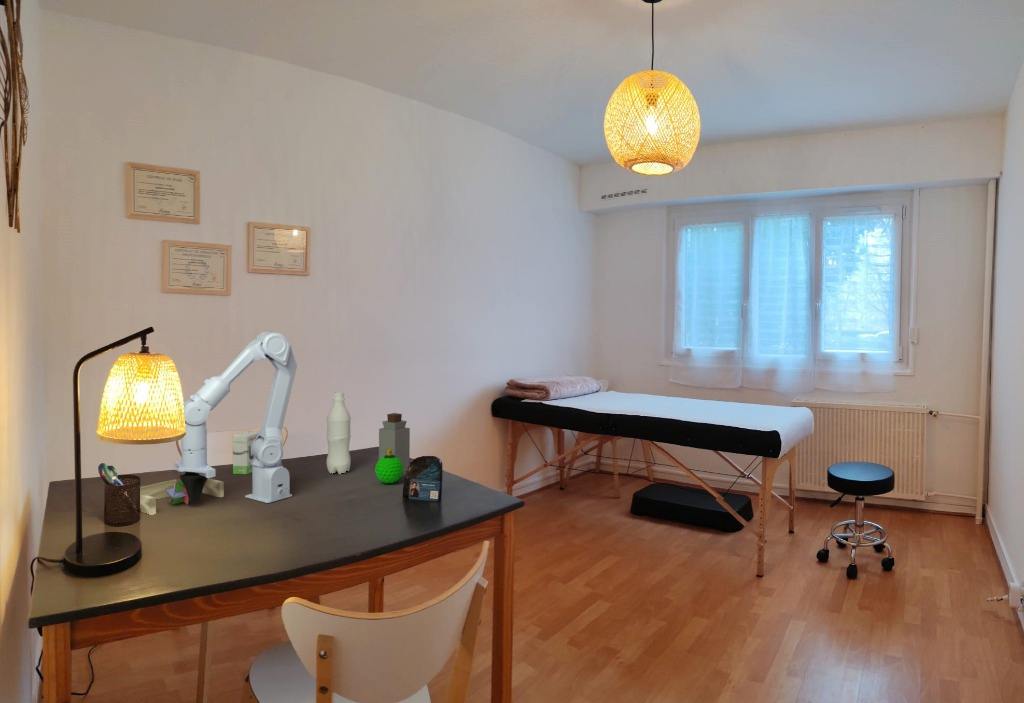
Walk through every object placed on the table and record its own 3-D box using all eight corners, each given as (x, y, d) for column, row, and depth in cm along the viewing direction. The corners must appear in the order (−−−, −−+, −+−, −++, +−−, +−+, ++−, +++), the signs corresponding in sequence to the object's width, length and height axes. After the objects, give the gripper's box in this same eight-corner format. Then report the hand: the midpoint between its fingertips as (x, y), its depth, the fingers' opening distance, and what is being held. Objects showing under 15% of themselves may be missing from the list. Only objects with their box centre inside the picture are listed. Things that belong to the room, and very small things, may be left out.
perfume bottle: (409, 469, 200) (409, 413, 199) (394, 474, 195) (395, 416, 194) (393, 466, 204) (393, 411, 203) (378, 471, 198) (379, 414, 197)
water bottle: (326, 470, 198) (326, 391, 196) (349, 469, 200) (350, 390, 198) (326, 476, 191) (326, 394, 189) (351, 474, 193) (351, 393, 191)
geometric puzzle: (207, 495, 161) (195, 468, 163) (180, 502, 155) (169, 473, 158) (194, 508, 164) (183, 481, 167) (168, 515, 159) (157, 487, 161)
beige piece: (223, 496, 168) (223, 481, 168) (151, 515, 152) (150, 499, 151) (196, 488, 175) (195, 474, 174) (123, 506, 158) (123, 490, 158)
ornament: (390, 488, 179) (390, 453, 178) (369, 484, 183) (369, 450, 182) (409, 482, 186) (409, 448, 185) (388, 478, 190) (388, 445, 189)
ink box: (247, 474, 191) (247, 436, 190) (232, 474, 191) (231, 435, 190) (262, 468, 199) (261, 431, 198) (247, 467, 200) (247, 430, 199)
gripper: (162, 447, 158) (162, 500, 159) (196, 455, 151) (196, 510, 151) (188, 442, 164) (189, 494, 165) (223, 449, 157) (223, 503, 157)
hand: (194, 501), depth 158 cm, fingers closed
